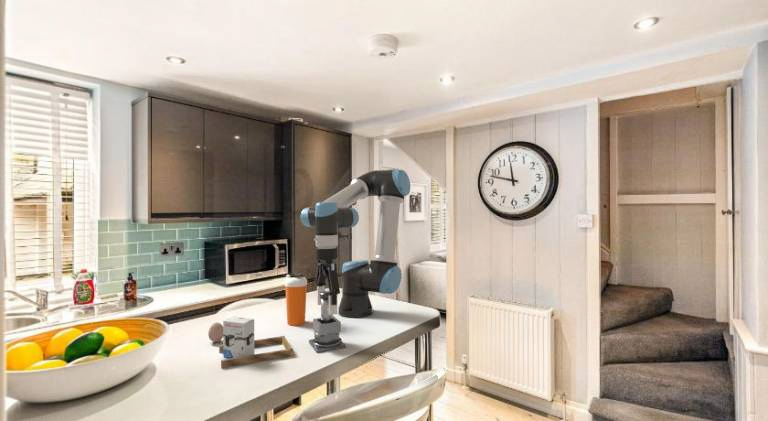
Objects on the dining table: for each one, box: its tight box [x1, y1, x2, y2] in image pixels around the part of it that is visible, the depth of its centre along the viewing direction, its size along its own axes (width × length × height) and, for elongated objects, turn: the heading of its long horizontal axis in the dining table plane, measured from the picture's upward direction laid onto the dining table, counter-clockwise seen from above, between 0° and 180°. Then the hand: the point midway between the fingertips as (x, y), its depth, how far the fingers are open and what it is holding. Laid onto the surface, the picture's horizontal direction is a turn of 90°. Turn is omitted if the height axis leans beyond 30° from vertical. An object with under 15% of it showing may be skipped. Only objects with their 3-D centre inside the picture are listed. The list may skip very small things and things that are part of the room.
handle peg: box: [320, 290, 334, 324], centre depth 130 cm, size 5×5×13 cm
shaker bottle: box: [284, 272, 308, 327], centre depth 154 cm, size 9×9×20 cm
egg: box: [207, 321, 223, 343], centre depth 133 cm, size 5×5×7 cm
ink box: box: [222, 316, 256, 359], centre depth 121 cm, size 8×5×12 cm, turn 70°
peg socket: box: [308, 315, 347, 354], centre depth 130 cm, size 10×10×8 cm
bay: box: [218, 335, 294, 369], centre depth 123 cm, size 21×14×2 cm, turn 116°
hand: (326, 309), depth 130 cm, fingers open, 13 cm apart
